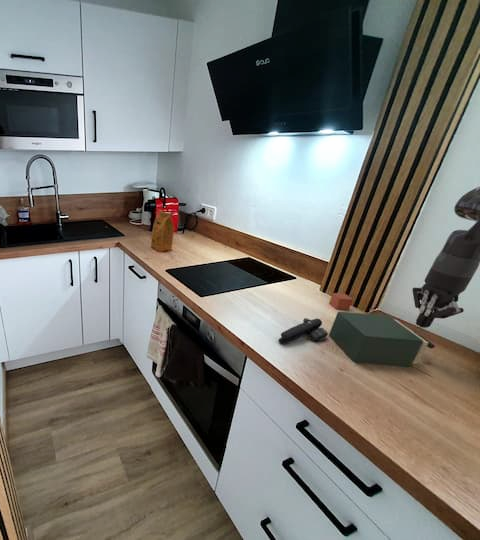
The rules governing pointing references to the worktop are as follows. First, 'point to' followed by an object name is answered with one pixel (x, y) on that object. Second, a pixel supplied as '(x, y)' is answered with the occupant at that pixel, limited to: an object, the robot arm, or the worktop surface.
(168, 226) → the coffee package
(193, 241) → the worktop surface
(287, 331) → the can opener
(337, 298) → the block
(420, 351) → the drawer
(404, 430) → the worktop surface
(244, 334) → the worktop surface
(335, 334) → the cabinet
